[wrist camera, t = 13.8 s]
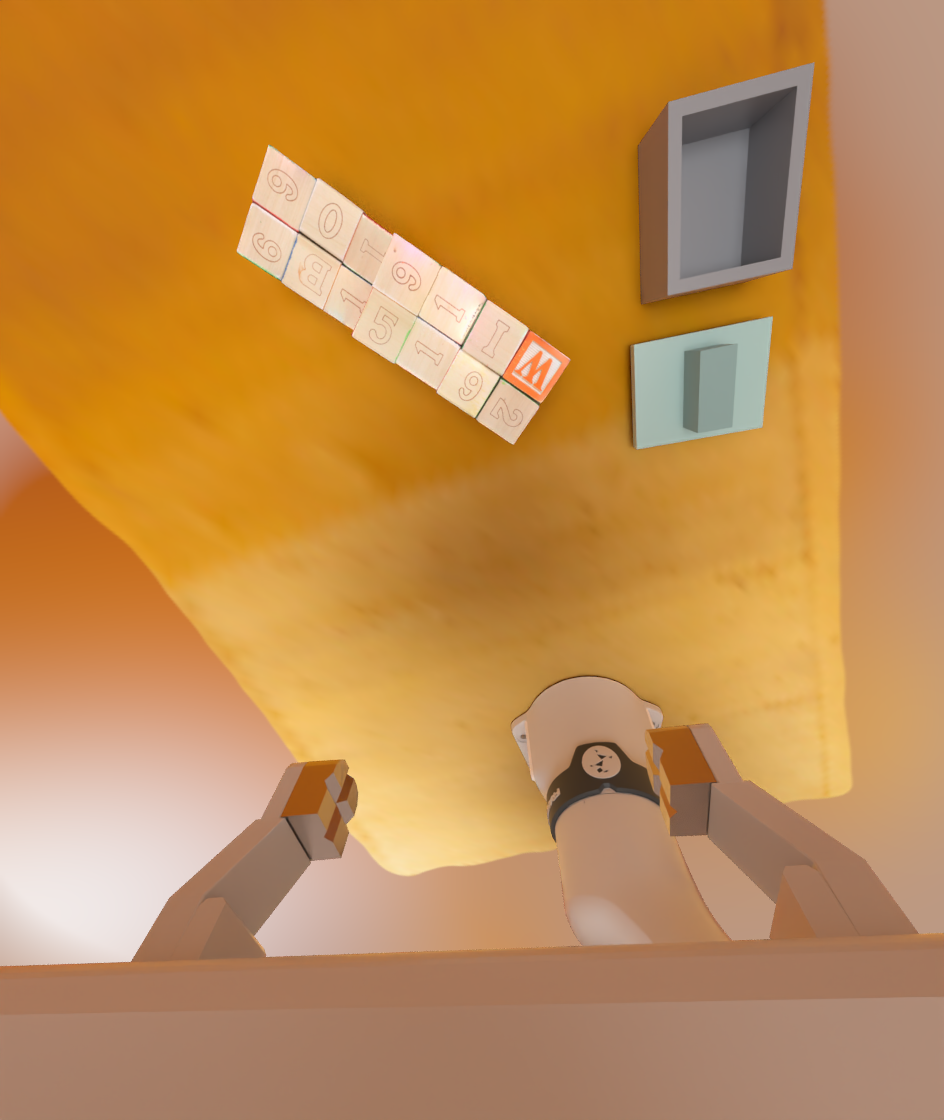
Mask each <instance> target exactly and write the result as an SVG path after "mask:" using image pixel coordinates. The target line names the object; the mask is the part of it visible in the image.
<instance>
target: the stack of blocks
mask: <svg viewBox="0 0 944 1120" xmlns="http://www.w3.org/2000/svg"><path fill="white" fill-rule="evenodd" d="M252 199H253V202H252V204H251V207H250V210H249V213H248V216H247V219H246V222H245V226H244V229H243V233H242V235H241V239H240V242H239V245H238V249H237V252H238V253H239V254H240V255H241V256H243V257H244V258H246V259H247V260H249V261H250V262H252V263H253V264H255V265H257V266H258V267H260V268H261V269H263V270H264V271H265V272H267V273H269V274H270V275H272V276H273V277H275V278H277V279H278V280H280V281H281V282H282V283H283V284H284V285H286V286H287V287H289V288H290V289H292V290H293V291H295V292H296V293H298V294H299V295H301V296H302V297H304V298H305V299H307V300H308V301H310V302H311V303H313V304H314V305H316V306H317V307H319V308H320V309H322V310H324V311H325V312H326V313H327V314H329V315H331V316H332V317H333V318H335V319H336V320H338V321H339V322H341V323H343V324H344V325H346V326H347V327H349V328H350V329H352V330H353V333H352V337H353V338H355V339H356V340H358V341H359V342H361V343H362V344H364V345H366V346H367V347H369V348H370V349H372V350H373V351H375V352H376V353H378V354H380V355H381V356H383V357H384V358H386V359H387V360H389V361H390V362H392V363H395V364H397V365H399V366H400V367H402V368H403V369H405V370H406V371H408V372H409V373H411V374H412V375H414V376H415V377H417V378H418V379H420V380H421V381H423V382H424V383H426V384H427V385H429V386H430V387H432V388H434V389H435V390H436V392H437V393H438V394H439V395H440V396H442V397H443V398H445V399H446V400H448V401H449V402H451V403H452V404H454V405H455V406H457V407H458V408H460V409H461V410H463V411H464V412H466V413H467V414H469V415H470V416H472V417H474V418H476V420H477V421H478V422H479V423H481V424H482V425H484V426H485V427H487V428H488V429H490V430H491V431H493V432H494V433H496V434H497V435H498V436H500V437H501V438H503V439H504V440H506V441H507V442H509V443H510V444H514V443H515V442H516V440H517V439H518V437H519V436H520V434H521V433H522V432H523V430H524V429H525V427H526V426H527V424H528V423H529V421H530V420H531V419H532V417H533V416H534V414H535V413H536V411H537V410H538V408H539V404H540V403H542V402H543V400H544V399H545V398H546V396H547V395H548V393H549V392H550V390H551V389H552V387H553V386H554V384H555V383H556V381H557V380H558V378H559V377H560V375H561V374H562V372H563V371H564V369H565V368H566V366H567V365H568V363H569V361H570V359H569V358H568V357H567V356H565V355H564V354H563V353H561V352H560V351H558V350H557V349H556V348H554V347H553V346H551V345H550V344H549V343H547V342H546V341H545V340H543V339H542V338H540V337H539V336H538V335H536V334H535V333H534V332H532V331H530V330H529V328H528V327H527V326H525V325H524V324H522V323H521V322H520V321H518V320H517V319H515V318H514V317H512V316H511V315H510V314H508V313H507V312H505V311H504V310H502V309H501V308H499V307H498V306H497V305H495V304H494V303H492V302H491V301H489V300H487V299H486V296H485V295H484V294H483V293H481V292H480V291H478V290H477V289H476V288H474V287H473V286H471V285H470V284H468V283H467V282H466V281H464V280H463V279H461V278H460V277H458V276H457V275H456V274H454V273H453V272H451V271H450V270H448V269H447V268H445V267H443V266H441V265H440V264H439V263H437V262H436V261H435V260H433V259H432V258H430V257H429V256H428V255H426V254H425V253H423V252H422V251H420V250H419V249H418V248H416V247H415V246H413V245H412V244H411V243H409V242H408V241H406V240H405V239H403V238H402V237H400V236H399V235H398V234H396V233H394V234H393V235H392V234H391V233H389V232H388V231H387V230H385V229H384V228H383V227H381V226H380V225H379V224H377V223H376V222H375V221H373V220H372V219H371V218H369V217H368V216H367V215H366V214H365V212H364V211H363V210H362V209H360V208H359V207H358V206H356V205H355V204H354V203H352V202H351V201H350V200H348V199H347V198H346V197H344V196H343V195H342V194H340V193H339V192H338V191H336V190H335V189H333V188H332V187H331V186H329V185H328V184H327V183H325V182H324V181H322V180H321V179H319V178H318V179H316V178H314V177H313V176H311V175H310V174H309V173H307V172H306V171H305V170H303V169H302V168H301V167H299V166H298V165H297V164H295V163H294V162H293V161H291V160H290V159H288V158H287V157H286V156H284V155H283V154H282V153H280V152H279V151H278V150H276V149H275V148H274V147H272V146H271V145H269V146H268V149H267V152H266V155H265V159H264V162H263V165H262V168H261V172H260V175H259V178H258V181H257V184H256V187H255V190H254V193H253V197H252Z"/></svg>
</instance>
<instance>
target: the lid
mask: <svg viewBox="0 0 944 1120" xmlns="http://www.w3.org/2000/svg"><path fill="white" fill-rule="evenodd" d="M772 319H773V317H765V318H760V319H755V320H750V321H746V322H741V323H736V324H731V325H726V326H721V327H716V328H711V329H707V330H702V331H697V332H692V333H687V334H682V335H677V336H673V337H668V338H663V339H658V340H653V341H648V342H643V343H638V344H634V345H630V348H631V381H632V415H633V447H634V448H635V449H642V448H648V447H654V446H659V445H665V444H671V443H676V442H682V441H688V440H693V439H699V438H705V437H711V436H716V435H722V434H728V433H733V432H739V431H745V430H750V429H756V428H762V424H763V414H764V403H765V393H766V382H767V372H768V361H769V351H770V340H771V330H772Z"/></svg>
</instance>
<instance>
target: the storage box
mask: <svg viewBox="0 0 944 1120" xmlns="http://www.w3.org/2000/svg"><path fill="white" fill-rule="evenodd" d="M813 71H814V63H811V64H807V65H803V66H799V67H796V68H792V69H788V70H785V71H781V72H777V73H774V74H770V75H766V76H763V77H759V78H755V79H751V80H748V81H744V82H740V83H737V84H733V85H729V86H726V87H722V88H718V89H715V90H711V91H707V92H704V93H700V94H696V95H692V96H689V97H685V98H681V99H678V100H674V101H670V102H668V103H667V105H666V106H665V108H664V109H663V111H662V112H661V113H660V115H659V116H658V118H657V119H656V121H655V122H654V124H653V125H652V126H651V128H650V129H649V131H648V132H647V134H646V135H645V137H644V138H643V139H642V141H641V142H640V144H639V145H638V173H639V225H640V276H641V304H646V303H650V302H655V301H660V300H664V299H669V298H674V297H678V296H683V295H687V294H692V293H697V292H701V291H706V290H711V289H715V288H720V287H724V286H729V285H734V284H738V283H743V282H747V281H751V280H754V279H758V278H761V277H765V276H768V275H772V274H775V273H779V272H783V271H786V270H790V269H792V266H793V257H794V248H795V238H796V229H797V220H798V211H799V201H800V192H801V183H802V173H803V164H804V155H805V145H806V136H807V127H808V118H809V108H810V99H811V90H812V80H813Z"/></svg>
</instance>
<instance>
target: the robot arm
mask: <svg viewBox="0 0 944 1120" xmlns="http://www.w3.org/2000/svg"><path fill="white" fill-rule="evenodd" d="M662 721H663V715H662V711H661V709H660V708H659V707H658V706H656V705H654V704H651V703H649V702H646V701H643V700H641V699H640V698H638V697H637V696H636V695H635V694H634V693H633V692H632V691H631V690H630V689H629V688H627V687H626V686H624V685H622V684H620V683H618V682H616V681H613V680H610V679H606V678H601V677H578V678H572V679H568V680H565V681H562V682H559V683H557V684H555V685H553V686H551V687H550V688H548V689H546V690H545V691H544V692H543V693H541V694H540V695H539V696H538V697H537V699H536V700H535V701H534V703H533V704H532V706H531V707H530V709H529V710H528V711H527V712H526V713H524V714H523V715H521V716H520V717H518V718H517V719H515V720H514V721H513V722H512V724H511V730H512V734H513V736H514V738H515V740H516V742H517V744H518V746H519V748H520V750H521V752H522V754H523V756H524V758H525V760H526V762H527V764H528V766H529V768H530V774H531V779H532V780H533V781H535V782H536V785H537V787H538V789H539V791H540V792H541V794H542V795H543V797H544V799H545V800H546V802H547V816H548V822H549V826H550V829H551V834H552V837H553V839H554V840H555V842H556V844H557V852H558V860H559V868H560V876H561V883H562V892H563V900H564V908H565V913H566V917H567V919H568V922H569V924H570V927H571V929H572V931H573V933H574V935H575V936H576V938H577V939H578V941H579V942H580V944H581V945H582V946H566V947H537V948H509V949H479V950H453V951H452V950H451V951H424V952H396V953H368V954H341V955H313V956H284V957H266V953H265V950H264V948H263V947H262V946H261V945H260V943H259V942H258V941H257V939H256V938H255V937H254V935H255V934H256V933H257V932H258V930H259V929H260V928H261V926H262V925H263V924H264V923H265V921H266V920H267V919H268V917H269V916H270V915H271V914H272V912H273V911H274V910H275V908H276V907H277V906H278V905H279V903H280V902H281V901H282V899H283V898H284V897H285V896H286V894H287V893H288V892H289V890H290V889H291V888H292V887H293V885H294V884H295V883H296V881H297V880H298V879H299V878H300V876H301V875H302V874H303V873H304V871H305V870H306V869H307V867H308V866H309V865H310V863H311V862H310V861H315V860H325V859H335V858H341V857H342V853H343V850H344V847H345V844H346V841H347V837H348V834H349V831H348V828H347V825H346V824H347V823H348V822H349V821H350V820H351V818H352V817H353V816H354V814H355V811H356V807H357V800H358V790H357V785H356V782H355V780H354V778H352V777H351V776H349V775H348V774H347V772H348V769H349V767H348V765H347V763H346V761H345V760H328V761H313V762H301V763H292V764H291V765H290V766H288V768H287V769H286V771H285V773H284V775H283V776H282V778H281V780H280V782H279V784H278V786H277V788H276V790H275V792H274V794H273V796H272V799H271V800H270V802H269V804H268V806H267V808H266V810H265V812H264V814H263V816H262V818H261V819H259V820H255V821H254V822H253V823H252V824H251V825H250V826H249V827H247V828H246V829H245V830H244V831H243V832H242V833H241V834H240V835H239V836H237V837H236V838H235V839H234V840H233V841H232V842H231V843H230V844H229V845H228V846H226V847H225V848H224V849H223V850H222V851H221V852H220V853H219V854H217V855H216V856H215V857H214V858H213V859H212V860H211V861H210V862H209V863H208V864H206V865H205V866H204V867H203V868H202V869H201V870H200V871H199V872H198V873H197V874H196V875H194V876H193V877H192V878H191V879H190V880H189V881H188V882H187V883H185V884H184V885H183V886H182V887H181V888H180V889H179V890H178V891H177V892H175V894H173V895H172V896H171V897H170V898H169V899H168V901H167V903H166V904H165V906H164V908H163V909H162V911H161V913H160V914H159V916H158V918H157V919H156V921H155V923H154V924H153V926H152V928H151V929H150V931H149V933H148V934H147V936H146V938H145V939H144V941H143V943H142V945H141V946H140V948H139V949H138V951H137V953H136V954H135V956H134V958H133V959H132V961H131V962H118V963H88V964H60V965H59V964H58V965H29V966H0V1120H944V933H931V934H930V933H929V934H919V933H918V932H917V930H916V929H915V928H914V927H913V925H912V924H911V922H910V921H909V919H908V918H907V917H906V915H905V914H904V913H903V911H902V910H901V908H900V907H899V906H898V904H897V903H896V902H895V900H894V899H893V897H892V896H891V895H890V894H889V892H888V891H887V889H886V888H885V886H884V885H883V884H882V882H881V881H880V880H879V878H878V877H877V876H876V874H875V873H874V871H873V870H872V869H871V867H870V866H869V865H868V863H867V862H866V860H864V859H863V858H862V857H860V856H859V855H857V854H856V853H854V852H853V851H851V850H850V849H848V848H847V847H846V846H844V845H842V844H841V843H840V842H838V841H837V840H835V839H834V838H832V837H831V836H829V835H828V834H826V833H825V832H824V831H822V830H821V829H819V828H818V827H816V826H815V825H814V824H812V823H811V822H809V821H808V820H806V819H805V818H803V817H802V816H800V815H799V814H798V813H796V812H795V811H793V810H792V809H790V808H789V807H787V806H786V805H784V804H783V803H782V802H780V801H779V800H777V799H776V798H774V797H773V796H771V795H770V794H768V793H767V792H766V791H764V790H763V789H761V788H760V787H758V786H757V785H755V784H754V783H752V782H751V781H743V780H742V778H741V777H740V775H739V773H738V771H737V770H736V768H735V766H734V765H733V763H732V761H731V760H730V758H729V756H728V754H727V753H726V751H725V749H724V748H723V746H722V744H721V742H720V741H719V739H718V737H717V736H716V734H715V732H714V730H713V729H712V727H711V726H710V725H709V724H696V725H687V726H685V725H683V726H674V727H665V728H661V724H662ZM523 734H525V735H523ZM693 835H708V838H709V839H710V840H711V841H712V842H713V843H714V844H715V845H716V846H717V847H718V848H720V850H721V851H723V853H725V854H726V855H727V856H728V857H729V858H730V859H731V860H732V861H733V862H734V863H735V864H736V865H737V866H738V867H739V868H740V869H741V870H742V871H743V872H744V873H745V874H746V875H747V876H748V877H749V878H750V879H751V880H752V881H753V882H754V883H755V884H756V885H757V886H758V887H759V888H760V889H761V890H762V891H763V892H764V893H765V894H766V895H767V896H768V897H769V898H770V899H771V900H772V901H773V902H774V903H775V904H776V908H775V912H774V918H773V922H772V927H771V932H770V939H764V940H738V941H732V940H731V939H730V938H729V936H728V935H727V934H726V933H725V932H724V930H723V929H722V928H721V927H720V925H719V924H718V922H717V921H716V920H715V918H714V917H713V915H712V914H711V912H710V911H709V909H708V907H707V905H706V904H705V902H704V900H703V898H702V896H701V894H700V892H699V890H698V888H697V886H696V884H695V882H694V879H693V878H692V875H691V873H690V871H689V868H688V866H687V864H686V862H685V860H684V857H683V855H682V852H681V850H680V847H679V845H678V843H677V840H676V837H675V836H693Z"/></svg>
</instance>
